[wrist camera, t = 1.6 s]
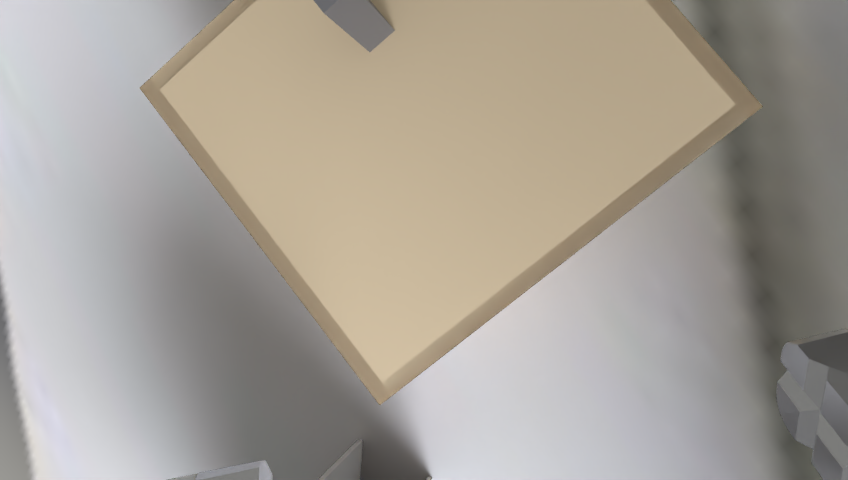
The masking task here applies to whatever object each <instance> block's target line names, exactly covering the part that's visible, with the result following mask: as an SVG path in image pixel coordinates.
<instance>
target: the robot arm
mask: <svg viewBox="0 0 848 480" xmlns="http://www.w3.org/2000/svg"><path fill="white" fill-rule="evenodd" d="M780 361H781V362H782V364H783V365H784V366H785V367H786V369H787V371H786V372H785V374H784V375H783V376H782V377H781V378H780V379H779V380H778V382H777V393H776V399H777V403H778V407H779V412H780V415H781V417H782V419H783V421H784V423H785V425H786V427H787V429H788V430H789V432H790V433H791V435H792V436H793V438H794V439H795V440H796V441H798V442H800V443H802V444H804V445H806V446H808V447H810V448H812V449H813V455H812V464H813V466H814V467H815V469H816V470H817V471H818V473H819V474H820V476H821V477H822V478H823V480H848V328H844V329H840V330H836V331H832V332H827V333H823V334H819V335H815V336H810V337H806V338H802V339H798V340H793V341H789V342H787V343H786V344H785V346H784V347H783V348H782V354H781V360H780ZM168 480H272V473H271V470H270V468H269V466H268V464H267V462H266V461H263V460H261V461H256V462H251V463H246V464H241V465H236V466H231V467H225V468H220V469H215V470H210V471H205V472H200V473H197V474H192V475H187V476H182V477H178V478H173V479H168Z"/></svg>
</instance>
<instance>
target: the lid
mask: <svg viewBox="0 0 848 480" xmlns="http://www.w3.org/2000/svg"><path fill="white" fill-rule="evenodd" d="M140 89H141V91H142V92H143V93H144V95H145V96H146V97H147V99H148V100H149V101H150V102H151V104H152V105H153V106H154V108H155V109H156V110H157V112H158V113H159V114H160V116H161V117H162V118H163V120H164V121H165V122H166V124H167V125H168V126H169V128H170V129H171V130H172V132H173V133H174V134H175V136H176V137H177V138H178V139H179V141H180V142H181V143H182V145H183V146H184V147H185V149H186V150H187V151H188V153H189V154H190V155H191V157H192V158H193V159H194V161H195V162H196V163H197V165H198V166H199V167H200V169H201V170H202V171H203V173H204V174H205V175H206V176H207V178H208V179H209V180H210V182H211V183H212V184H213V186H214V187H215V188H216V190H217V191H218V192H219V194H220V195H221V196H222V198H223V199H224V200H225V202H226V203H227V204H228V206H229V207H230V208H231V210H232V211H233V212H234V214H235V215H236V216H237V217H238V219H239V220H240V221H241V223H242V224H243V225H244V227H245V228H246V229H247V231H248V232H249V233H250V235H251V236H252V237H253V239H254V240H255V241H256V243H257V244H258V245H259V247H260V248H261V249H262V251H263V252H264V253H265V254H266V256H267V257H268V258H269V260H270V261H271V262H272V264H273V265H274V266H275V268H276V269H277V270H278V272H279V273H280V274H281V276H282V277H283V278H284V280H285V281H286V282H287V284H288V285H289V286H290V288H291V289H292V290H293V292H294V293H295V294H296V295H297V297H298V298H299V299H300V301H301V302H302V303H303V305H304V306H305V307H306V309H307V310H308V311H309V313H310V314H311V315H312V317H313V318H314V319H315V321H316V322H317V323H318V325H319V326H320V327H321V329H322V330H323V331H324V332H325V334H326V335H327V336H328V338H329V339H330V340H331V342H332V343H333V344H334V346H335V347H336V348H337V350H338V351H339V352H340V354H341V355H342V356H343V358H344V359H345V360H346V362H347V363H348V364H349V366H350V367H351V368H352V369H353V371H354V372H355V373H356V375H357V376H358V377H359V379H360V380H361V381H362V383H363V384H364V385H365V387H366V388H367V389H368V391H369V392H370V393H371V395H372V396H373V397H374V399H375V400H376V401H377V403H378V404H379V405H381V404H382V403H383V402H385V401H386V400H387V399H389V398H390V397H391V396H392V395H394V394H395V393H396V392H398V391H399V390H400V389H401V388H403V387H404V386H405V385H407V384H408V383H409V382H410V381H412V380H413V379H414V378H416V377H417V376H418V375H419V374H421V373H422V372H423V371H425V370H426V369H427V368H428V367H430V366H431V365H432V364H434V363H435V362H436V361H437V360H439V359H440V358H441V357H442V356H444V355H445V354H446V353H448V352H449V351H450V350H451V349H453V348H454V347H455V346H457V345H458V344H459V343H460V342H462V341H463V340H464V339H466V338H467V337H468V336H469V335H471V334H472V333H473V332H475V331H476V330H477V329H478V328H480V327H481V326H482V325H484V324H485V323H486V322H487V321H489V320H490V319H491V318H493V317H494V316H495V315H496V314H498V313H499V312H500V311H502V310H503V309H504V308H505V307H507V306H508V305H509V304H510V303H512V302H513V301H514V300H516V299H517V298H518V297H519V296H521V295H522V294H523V293H525V292H526V291H527V290H528V289H530V288H531V287H532V286H534V285H535V284H536V283H537V282H539V281H540V280H541V279H543V278H544V277H545V276H546V275H548V274H549V273H550V272H552V271H553V270H554V269H555V268H557V267H558V266H559V265H561V264H562V263H563V262H564V261H566V260H567V259H568V258H570V257H571V256H572V255H573V254H575V253H576V252H577V251H578V250H580V249H581V248H582V247H584V246H585V245H586V244H587V243H589V242H590V241H591V240H593V239H594V238H595V237H596V236H598V235H599V234H600V233H602V232H603V231H604V230H605V229H607V228H608V227H609V226H611V225H612V224H613V223H614V222H616V221H617V220H618V219H620V218H621V217H622V216H623V215H625V214H626V213H627V212H629V211H630V210H631V209H632V208H634V207H635V206H636V205H638V204H639V203H640V202H641V201H643V200H644V199H645V198H646V197H648V196H649V195H650V194H652V193H653V192H654V191H655V190H657V189H658V188H659V187H661V186H662V185H663V184H664V183H666V182H667V181H668V180H670V179H671V178H672V177H673V176H675V175H676V174H677V173H679V172H680V171H681V170H682V169H684V168H685V167H686V166H688V165H689V164H690V163H691V162H693V161H694V160H695V159H697V158H698V157H699V156H700V155H702V154H703V153H704V152H706V151H707V150H708V149H709V148H711V147H712V146H713V145H714V144H716V143H717V142H718V141H720V140H721V139H722V138H723V137H725V136H726V135H727V134H729V133H730V132H731V131H732V130H734V129H735V128H736V127H738V126H739V125H740V124H741V123H743V122H744V121H745V120H747V119H748V118H749V117H750V116H752V115H753V114H754V113H756V112H757V111H758V110H759V109H761V108H762V107H763V106H762V105H761V104H760V103H759V102H758V100H757V99H756V98H755V97H754V96H753V95H752V93H751V92H750V91H749V90H748V89H747V88H746V87H745V85H744V84H743V83H742V82H741V81H740V80H739V78H738V77H737V76H736V75H735V74H734V73H733V72H732V70H731V69H730V68H729V67H728V66H727V65H726V63H725V62H724V61H723V60H722V59H721V58H720V57H719V55H718V54H717V53H716V52H715V51H714V50H713V48H712V47H711V46H710V45H709V44H708V43H707V42H706V40H705V39H704V38H703V37H702V36H701V35H700V34H699V32H698V31H697V30H696V29H695V28H694V27H693V25H692V24H691V23H690V22H689V21H688V20H687V19H686V17H685V16H684V15H683V14H682V13H681V12H680V10H679V9H678V8H677V7H676V6H675V5H674V4H673V2H672V1H671V0H234V1H233V2H232V3H230V4H229V5H228V6H227V7H226V8H225V9H224V10H223V11H222V12H221V13H220V14H219V15H218V16H217V17H215V18H214V19H213V20H212V21H211V22H210V23H209V24H208V25H207V26H206V27H205V28H204V29H203V30H201V31H200V32H199V33H198V34H197V35H196V36H195V37H194V38H193V39H192V40H191V41H190V42H189V43H187V44H186V45H185V46H184V47H183V48H182V49H181V50H180V51H179V52H178V53H177V54H176V55H175V56H173V57H172V58H171V59H170V60H169V61H168V62H167V63H166V64H165V65H164V66H163V67H162V68H161V69H159V70H158V71H157V72H156V73H155V74H154V75H153V76H152V77H151V78H150V79H149V80H148V81H147V82H146V83H144V84H143V85H142V86H141V87H140Z"/></svg>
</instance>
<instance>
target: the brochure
mask: <svg viewBox="0 0 848 480" xmlns="http://www.w3.org/2000/svg"><path fill="white" fill-rule="evenodd" d="M362 446H363V440H360V439H358V440H357V441H356V442H355V443H354V444H353V445H352V446H351V447H350V448H349V449H348V450H347V451H346V452H345V453H344V454H343V455H342V456H341V457H340V458H339V459H338V460H337V461H336V462H335V463H334V464H333V465H332V466H331V467H330V468H329V469H328V470H327V471H326V472H325V473H324V474H323V475H322V476H321V477H320V478H319V479H318V480H360V472H361V459H362ZM431 479H432V478H431V477H429V476H428V477H427V479H426V480H431Z"/></svg>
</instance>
